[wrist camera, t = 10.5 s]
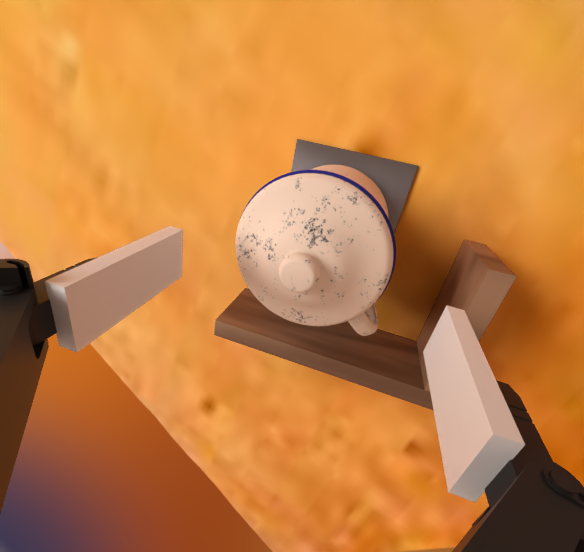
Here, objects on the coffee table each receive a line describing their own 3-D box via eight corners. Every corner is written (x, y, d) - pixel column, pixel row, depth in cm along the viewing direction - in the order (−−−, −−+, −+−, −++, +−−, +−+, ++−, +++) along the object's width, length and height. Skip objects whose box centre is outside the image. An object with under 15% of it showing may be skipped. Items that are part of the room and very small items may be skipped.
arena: (267, 132, 24) (233, 129, 18) (514, 187, 21) (559, 203, 15) (243, 301, 30) (214, 334, 25) (427, 359, 28) (437, 411, 22)
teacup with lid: (259, 198, 26) (176, 236, 15) (358, 135, 22) (336, 130, 12) (327, 314, 28) (296, 412, 18) (426, 275, 24) (459, 372, 14)
